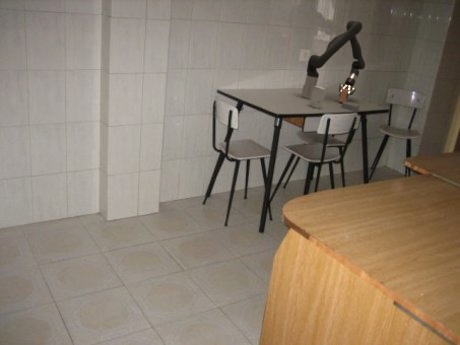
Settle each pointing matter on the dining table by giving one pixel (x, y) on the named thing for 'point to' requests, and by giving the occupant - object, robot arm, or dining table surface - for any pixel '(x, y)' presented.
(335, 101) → the dining table surface
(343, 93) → the brick pillar
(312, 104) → the skincare box
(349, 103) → the charcoal block
